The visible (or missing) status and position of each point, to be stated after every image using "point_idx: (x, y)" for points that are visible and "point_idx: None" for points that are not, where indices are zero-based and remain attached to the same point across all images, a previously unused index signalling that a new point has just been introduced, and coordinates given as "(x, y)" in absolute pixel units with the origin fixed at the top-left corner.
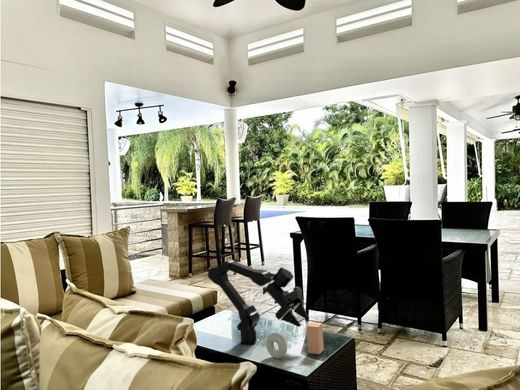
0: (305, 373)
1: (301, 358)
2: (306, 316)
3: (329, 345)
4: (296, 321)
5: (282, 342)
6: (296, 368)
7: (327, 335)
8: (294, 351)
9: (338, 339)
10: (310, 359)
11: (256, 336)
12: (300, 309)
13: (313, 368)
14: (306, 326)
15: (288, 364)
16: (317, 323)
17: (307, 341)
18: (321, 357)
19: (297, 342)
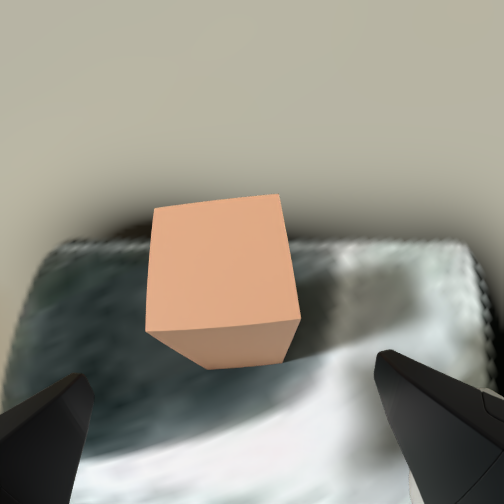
0: (460, 253)
1: (368, 353)
2: (69, 403)
3: (136, 299)
4: (442, 382)
5: (500, 396)
6: (457, 306)
7: (30, 354)
8: (299, 444)
9: (61, 289)
10: (354, 305)
11: None
12: (5, 497)
13: (417, 247)
14: (300, 319)
15: (449, 362)
16: (169, 244)
17: (286, 351)
18: (304, 269)
19: (158, 484)
